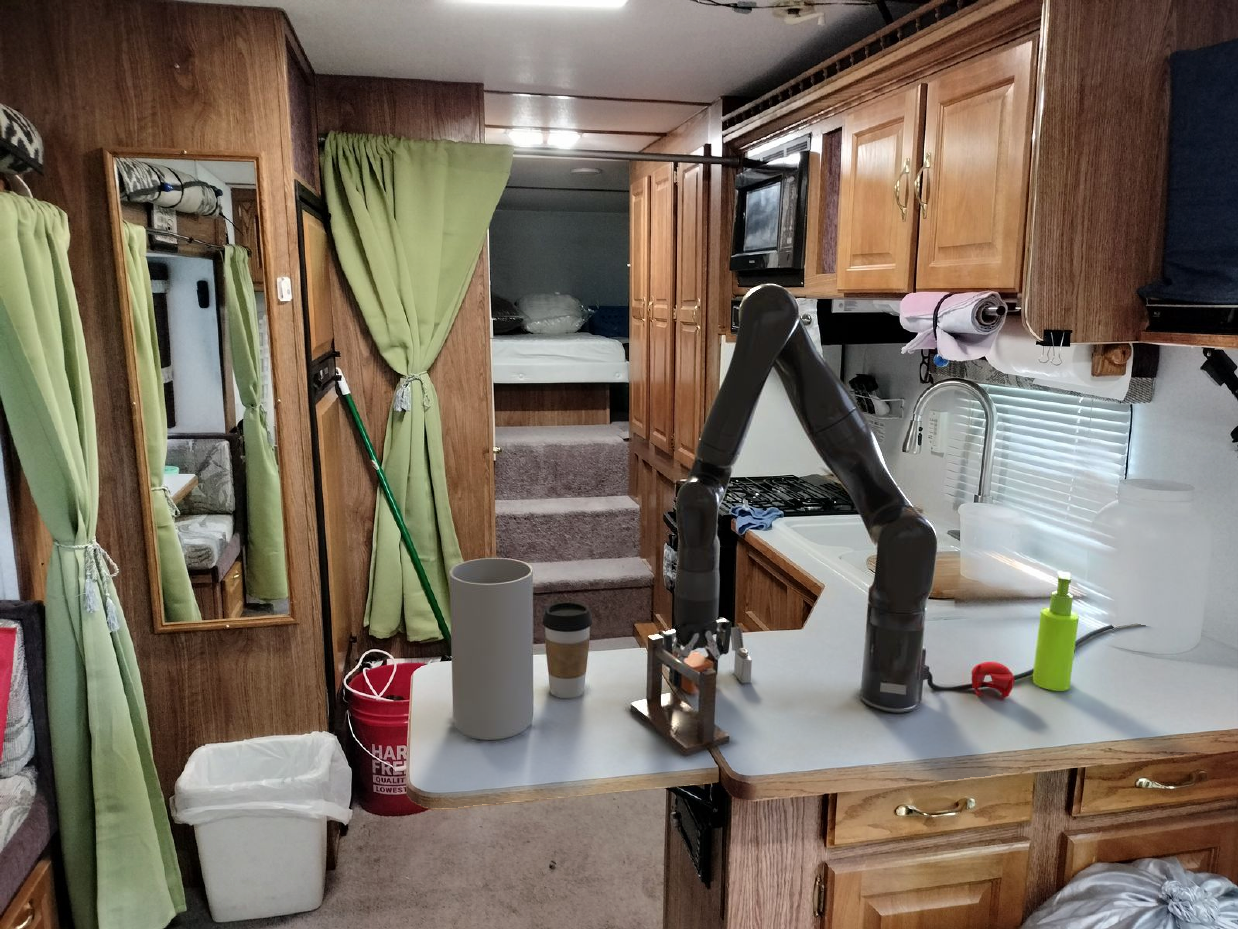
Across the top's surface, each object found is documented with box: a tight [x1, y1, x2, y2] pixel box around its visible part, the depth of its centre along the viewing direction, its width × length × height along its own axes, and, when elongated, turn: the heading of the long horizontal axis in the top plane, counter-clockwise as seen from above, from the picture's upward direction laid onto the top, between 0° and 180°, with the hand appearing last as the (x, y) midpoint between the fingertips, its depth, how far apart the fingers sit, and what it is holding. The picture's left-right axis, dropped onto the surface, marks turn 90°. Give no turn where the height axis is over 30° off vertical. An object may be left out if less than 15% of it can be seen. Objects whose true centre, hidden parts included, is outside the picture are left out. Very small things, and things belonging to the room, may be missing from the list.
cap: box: [971, 661, 1015, 700], centre depth 145 cm, size 8×6×6 cm
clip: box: [677, 651, 713, 696], centre depth 146 cm, size 4×5×5 cm
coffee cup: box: [541, 601, 593, 699], centre depth 143 cm, size 8×8×15 cm
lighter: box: [730, 626, 753, 684], centre depth 151 cm, size 7×2×8 cm, turn 12°
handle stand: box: [630, 633, 731, 757], centre depth 132 cm, size 8×16×12 cm, turn 30°
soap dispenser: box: [1032, 570, 1080, 692], centre depth 149 cm, size 6×7×20 cm
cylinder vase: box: [449, 557, 534, 741], centre depth 131 cm, size 12×12×25 cm
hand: (693, 682), depth 147 cm, fingers open, 6 cm apart
